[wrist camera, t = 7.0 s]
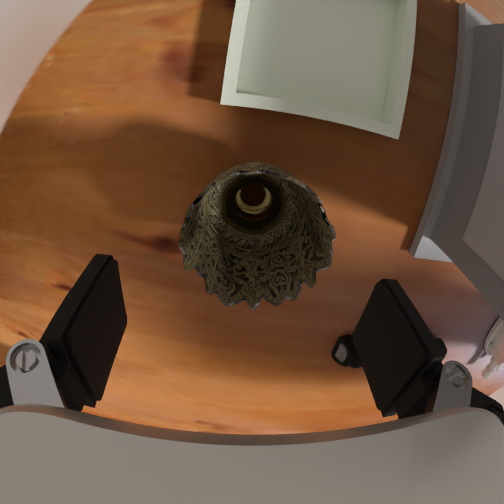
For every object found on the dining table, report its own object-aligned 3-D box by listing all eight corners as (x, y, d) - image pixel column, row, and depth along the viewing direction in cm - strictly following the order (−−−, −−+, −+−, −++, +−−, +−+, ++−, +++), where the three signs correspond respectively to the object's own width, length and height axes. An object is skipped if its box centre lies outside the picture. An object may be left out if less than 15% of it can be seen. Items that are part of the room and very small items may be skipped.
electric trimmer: (429, 348, 32) (439, 365, 29) (328, 354, 30) (335, 376, 27) (443, 328, 30) (454, 345, 27) (340, 331, 28) (348, 353, 25)
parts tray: (384, 134, 18) (398, 139, 16) (223, 103, 17) (220, 104, 15) (402, 2, 12) (417, -5, 10) (246, -40, 11) (246, -53, 9)
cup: (182, 174, 19) (148, 221, 13) (276, 125, 18) (296, 142, 11) (233, 255, 23) (228, 327, 16) (319, 215, 21) (352, 276, 14)
